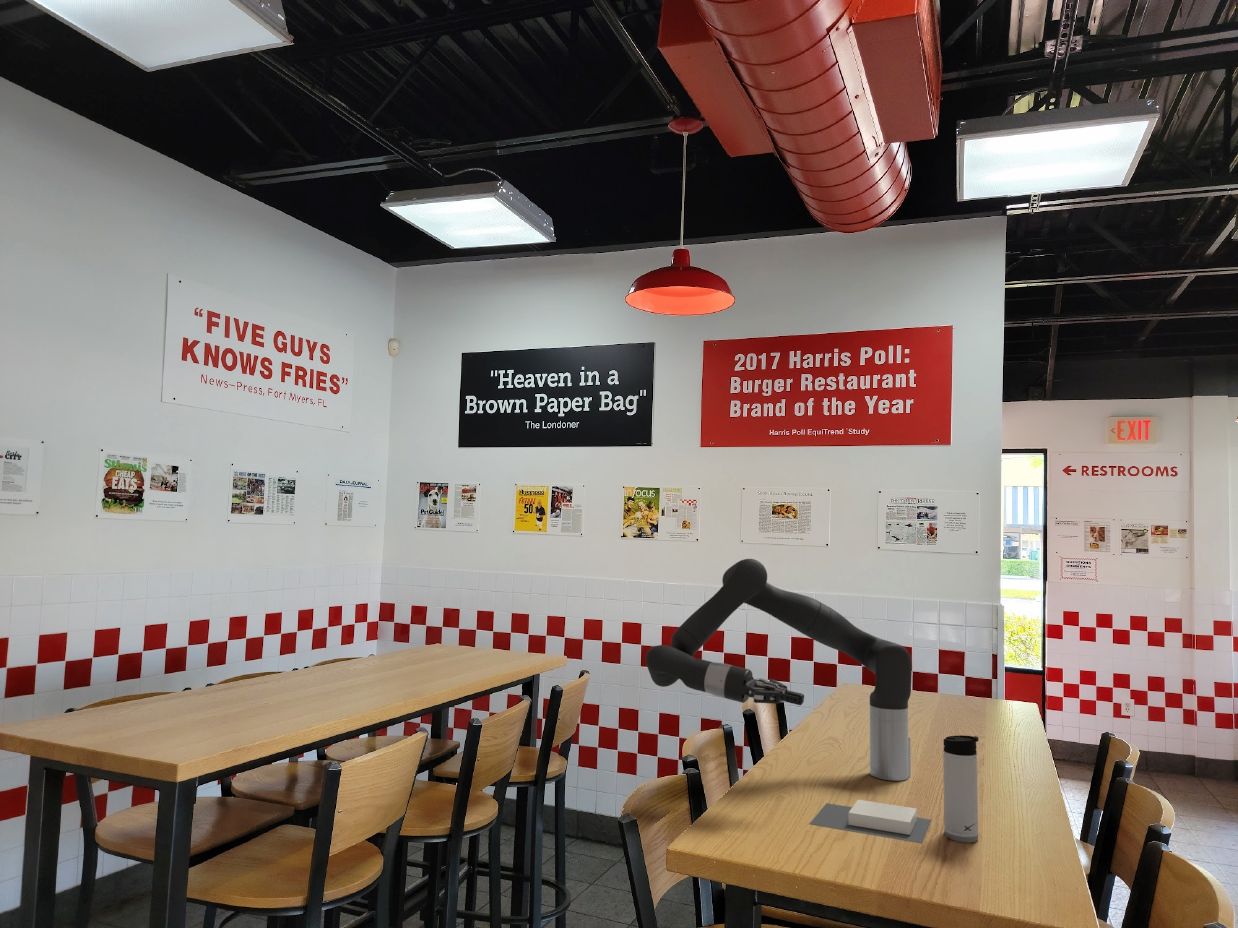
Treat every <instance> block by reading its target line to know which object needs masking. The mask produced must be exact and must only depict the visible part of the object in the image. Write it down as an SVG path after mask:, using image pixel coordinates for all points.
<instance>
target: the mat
mask: <svg viewBox="0 0 1238 928" xmlns="http://www.w3.org/2000/svg"><path fill="white" fill-rule="evenodd" d="M852 807H853V806H848V805H847V806H846V805H841V804H835V803H828V802H826V803H825V804H824V805H823V807H822V808H821V809H820V810H819V812H818V813H817V814H816V815H815V816H814V818H813V819H812V820H811V821H810V822H809V823H808V825H811V826H817V827H822V828H829V829H834V830H835V829H836V830H841V831H846V832H852V833H858V834H864V835H871V836H875V837H876V836H877V837H881V838H883V837H884V838H888V839H893V840H899V841H904V842H911V843H915V844H916V843H917V844H923V843H924V840H925V837H926V835H927V833H928V830H929V828H930V825H931V822H932V819H929V818H925V817H924V818H923V817H918V816H917V821H916V823H915V825H914V828H913V830H912V832H911V834H910V835H908V834H901V833H895V832H889V831H883V830H877V829H871V828H865V827H859V826H853V825H849V811H850V810H851V809H852Z"/></svg>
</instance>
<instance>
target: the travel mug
mask: <svg viewBox="0 0 1238 928" xmlns="http://www.w3.org/2000/svg"><path fill="white" fill-rule="evenodd" d="M977 742H979V737H978V736H974V735H973V736H972V735H962V734H961V735H950V736H946V737H945V738H943V750H942V751H943V754H942V755H943V827H944V828H943V831H944V832H943V833H944V836H946V837H947V839H949V840H950V841H953V842H957V843H962V844H973V843H975V842H978V839H979V831H978V830H979V820H978V819H979V814H978V813H979V811H978V809H979V807H978V806H979V805H978V804H979V803H978V801H979V800H978V758H977V757H978V752H977Z"/></svg>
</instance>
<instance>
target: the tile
mask: <svg viewBox="0 0 1238 928" xmlns="http://www.w3.org/2000/svg"><path fill="white" fill-rule="evenodd" d="M851 807H852V809H851V810H850V811H849V825H853V826H859V827H865V828H871V829H877V830H883V831H889V832H895V833H901V834H908V835H910V834H911V832H912V830H913V828H914V825H915V823H916V821H917V817H918V815H917V814H918V810H917V808H916V807H907V806H902V805H895V804H887V803H883V802H878V801H877V802H876V801H870V800H862V799H857V800H856V801H855V803H854V804H853V806H851Z"/></svg>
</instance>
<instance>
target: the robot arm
mask: <svg viewBox="0 0 1238 928" xmlns="http://www.w3.org/2000/svg"><path fill="white" fill-rule="evenodd" d="M721 579H722V587H720V588H719V589H718V591H717V592H715V594H714V595H712V597H710V598H709V599H708V600H707V601H706V602H705V603H703V604H702V605H701V606H700V607H699V608H698V609H696V610H695V611H694V612H693V613H692V614H691V615H690V616H689V617H688V618H686V620H685V621H684V622H683V623H682V624H681V625H680V626H679V627H678V628H677V629H676V630H675V631H674V632H673V634H672V636H671V643H670V646H669V645H664V644H658V645H654V646H653V647H651V648H649V649H648V650H647V652H646V654H645V659H644V660H645V664H646V666H647V670H648V673H649V676H650V678H651V680H652V682H653V683H654V684H655V685H656V686H657V687H658V686H659V687H661V688H663V687H664V688H665V687H670V686H672V685H673V684H675V683H676V682H677V681H678V680H680V681H681V682H682V683H683V685H685V686H686V687H687V688H689V689H692V690H694V691H699V692H703V693H707V694H710V695H713V696H715V697H718V698H723V699H727V700H730V701H735V702H739V703H742V704H743V703H746V702H747V701H748V700H749V698H752V699H753V703H755V704H776V705H778V704H780V703H789V704H794V705H797V706H802V705H803V704H804V701H805V695H804V693H801V692H796V691H792V690H789V689H788V686H786V684H783V683H781V682H780V681H778V680H776V679H774V678H770V679H769V681H768V680H767V679H765V678H758V679H757V678H756V679H755V678H754V677H753V672H752V670H751V669H749V668H746V667H745V668H744V667H740V666H735V665H732V664H728V663H723V662H714V661H711V660H710V661H709V660H705V659H702V658H696V657H695V656H694V655H695V654H696V653H698V651H699V650H700V649H701V648H702V647H703V646H704V645H705V644H706V643H707V641H708V640H709V639H710V638H711V637H712V636H713V635H714V634H715V633H716V631H717V630H719V628H720V627H721V626H722V625H723V623H724V622H725V621H727V619H728V618H729V617H730V616H731V615H732V614H733V613H734V612H735V611H736V610H738V609H739V608H740V607H741V606H742V605H743V604H745V605H748V606H751V607H753V608H756V609H758V610H760V611H762V612H764V613H766V614H767V615H768V614H769V616H771V617H773V618H775V619H776V620H778V621H780V622H781V623H784V624H785V625H787V626H789V627H791V628H793V629H794V630H796V631H797V632H799V633H801V634H803V635H804V636H806V637H808V638H810V639H812V640H814V641H816V642H818V643H819V644H822V645H824V646H826V647H828V648H831V649H833V650H836V651H839V652H840V653H841V652H842V653H844V654H845V655H847V656H849V657H851V658H852V659H854V660H855V661H857V662H858V663H860V665H862V666H864V667H865V668H867V670H869V671H870V672H871V673H873V674H874V675H875V681H874V689H873V691H872V692H871V693H870V695H869V774H870V776H871V777H873V778H877V779H880V780H886V781H898V782H899V781H906V780H908V779H909V777H911V772H912V771H911V770H912V769H911V760H912V759H911V757H912V756H911V755H912V753H911V750H912V749H911V737H910V736H909V708H908V707H909V700H910V697H911V694H912V677H913V676H912V673H913V672H912V669H913V668H912V667H913V665H912V658H911V655H910V653H909V651H908V649H907V648H906V647H904V646H903V645H901V644H899V643H896V642H893V641H889V640H887V639H882V638H880V637H877V636H875V635H872V634H871V633H868V632H866V631H864V630H862V629H860V628H858V627H856V626H855V625H854V624H853V623H851V622H850V621H849V620H848V619H847V618H845V616H843V615H842V614H841V613H839V612H838V611H836V610H835V609H833V608H832V607H830V606H828V605H826V604H824V603H823V602H820V601H819V600H818V599H815V598H813V597H811V596H807V595H803V594H801V593H796V592H792V591H788V590H785V589H782V588H778V587H776V586H774V585H772V584H771V583H769V582H767V581H768V572H767V568H766V567H765V566H764V565H763V563H762V562H760V561H759V560H756V559H754V558H745V559H741V560H739V561H738V562H736V563H734V564H732V565H731V566H730V567H729V568H728V569H726V570H725V572H724V573H723V576H722V578H721Z"/></svg>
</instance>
